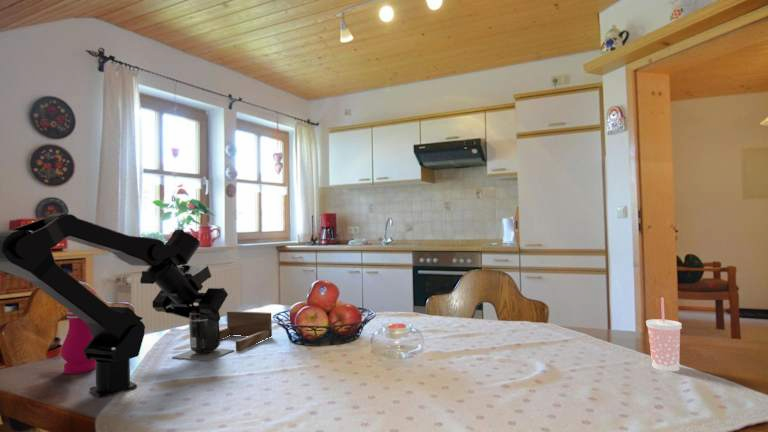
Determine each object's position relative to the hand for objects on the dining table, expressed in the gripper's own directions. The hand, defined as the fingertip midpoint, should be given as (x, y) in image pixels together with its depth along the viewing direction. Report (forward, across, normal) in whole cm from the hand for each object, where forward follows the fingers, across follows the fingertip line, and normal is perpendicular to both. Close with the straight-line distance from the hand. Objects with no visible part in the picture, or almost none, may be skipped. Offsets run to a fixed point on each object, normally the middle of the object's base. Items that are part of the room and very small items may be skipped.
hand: (207, 319), depth 110 cm
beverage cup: (+16, -102, -5) cm, 104 cm away
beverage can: (+5, 0, +6) cm, 8 cm away
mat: (+5, 0, +7) cm, 8 cm away
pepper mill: (-7, +20, +19) cm, 28 cm away
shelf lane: (+12, 0, -1) cm, 12 cm away
